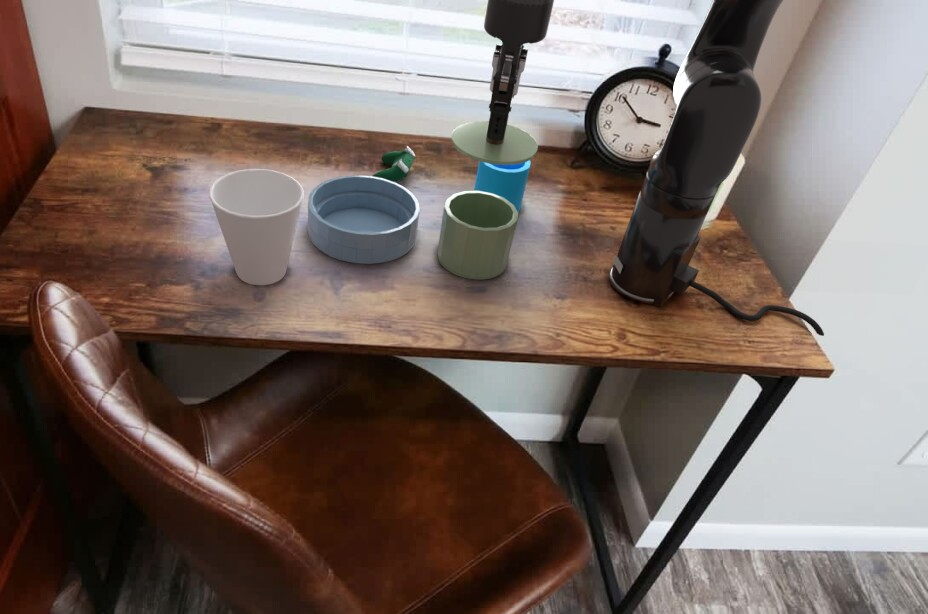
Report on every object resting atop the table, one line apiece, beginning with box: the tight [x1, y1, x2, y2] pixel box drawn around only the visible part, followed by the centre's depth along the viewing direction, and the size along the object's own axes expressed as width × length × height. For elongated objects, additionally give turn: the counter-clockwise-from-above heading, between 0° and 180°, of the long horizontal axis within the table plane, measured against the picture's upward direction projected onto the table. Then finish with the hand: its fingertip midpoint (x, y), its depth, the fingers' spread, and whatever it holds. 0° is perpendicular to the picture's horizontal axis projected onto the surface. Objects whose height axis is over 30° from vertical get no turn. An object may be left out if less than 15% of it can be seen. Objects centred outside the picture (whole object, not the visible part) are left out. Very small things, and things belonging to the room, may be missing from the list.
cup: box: [208, 168, 305, 286], centre depth 93 cm, size 12×12×12 cm
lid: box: [450, 100, 539, 165], centre depth 91 cm, size 11×11×6 cm
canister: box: [436, 190, 519, 281], centre depth 102 cm, size 10×10×8 cm
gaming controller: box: [372, 145, 416, 183], centre depth 119 cm, size 9×4×6 cm
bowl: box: [307, 174, 421, 265], centre depth 104 cm, size 16×16×6 cm
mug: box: [473, 160, 531, 213], centre depth 116 cm, size 12×8×8 cm
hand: (496, 132), depth 91 cm, fingers closed on lid, 2 cm apart
